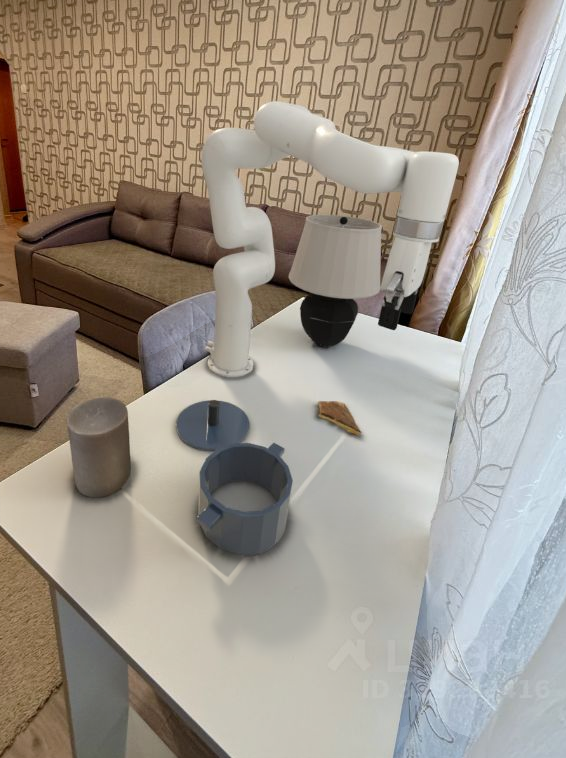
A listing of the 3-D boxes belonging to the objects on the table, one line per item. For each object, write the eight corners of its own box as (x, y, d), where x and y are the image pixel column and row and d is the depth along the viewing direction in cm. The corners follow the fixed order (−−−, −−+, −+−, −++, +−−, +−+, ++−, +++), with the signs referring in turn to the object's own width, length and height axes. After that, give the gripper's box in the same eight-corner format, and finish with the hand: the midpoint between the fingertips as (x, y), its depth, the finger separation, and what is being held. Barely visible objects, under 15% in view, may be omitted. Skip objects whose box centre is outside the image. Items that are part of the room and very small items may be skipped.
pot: (167, 530, 62) (167, 490, 59) (244, 458, 77) (247, 423, 74) (240, 592, 54) (244, 550, 51) (309, 499, 69) (316, 462, 66)
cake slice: (360, 438, 85) (361, 431, 85) (326, 438, 84) (327, 432, 84) (343, 406, 95) (344, 400, 94) (312, 407, 94) (313, 400, 94)
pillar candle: (140, 462, 75) (138, 396, 69) (114, 504, 66) (108, 433, 60) (93, 451, 76) (87, 386, 70) (61, 491, 67) (51, 420, 62)
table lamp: (316, 318, 143) (333, 206, 128) (383, 348, 125) (412, 222, 110) (263, 338, 126) (276, 211, 110) (332, 375, 108) (358, 230, 92)
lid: (160, 428, 83) (160, 404, 81) (210, 396, 95) (211, 374, 93) (216, 465, 75) (218, 440, 73) (263, 424, 87) (265, 401, 85)
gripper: (409, 220, 76) (390, 301, 82) (378, 231, 63) (358, 327, 69) (451, 227, 72) (427, 312, 79) (427, 240, 59) (401, 341, 65)
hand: (395, 319), depth 74 cm, fingers open, 9 cm apart
